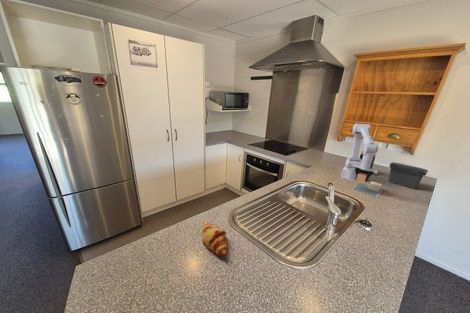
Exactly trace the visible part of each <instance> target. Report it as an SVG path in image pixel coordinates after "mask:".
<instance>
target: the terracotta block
mask: <svg viewBox="0 0 470 313" xmlns="http://www.w3.org/2000/svg"><path fill="white" fill-rule="evenodd" d="M366 177H367V174H364V173H359V174H358V175H357V179H355V181H356V182H358V183H359V182H362V183H365V184H366V183H367V182H366V181H365V180H366Z"/></svg>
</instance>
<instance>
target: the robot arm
mask: <svg viewBox="0 0 470 313" xmlns="http://www.w3.org/2000/svg"><path fill="white" fill-rule="evenodd" d="M370 131H371V124H369V123H368V124H366V123H354V124H353V126H352V132H351V134H352V135H353V140H352V141H353V142H352V147H351V148H352V149H351V155H350V156H348V157H346V161H345V163H344V165H345V166H344V167H343V169H342V171H341V175H340V178H344V179H347V180H349V181H352V182H353V181H356V179H357V175H358V174H359V172H360V170H361V169H362V170H365V171H369V172H368V173H367V177H366V180H365V181H366V182H365V183H367V182H368V180H369V179H370V177H371V176H372V175H373V174H376V175H377V174H378V172H379V170H377V169H374V168H373V167H372V168H370V167H371V164H372V161H373V157H374V154H376V153H378V151H379V145H378V144H376V143H375V141H374V138H373V137H372V136H371V135H370ZM361 142H363V154H364V155H363V158H362V160H361V159H360V155H359V154H360V148H361Z"/></svg>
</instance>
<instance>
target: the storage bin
mask: <svg viewBox="0 0 470 313" xmlns="http://www.w3.org/2000/svg"><path fill="white" fill-rule="evenodd" d="M389 168H390V171H389V175H388V182H389V183H391V184H392V183H393V184H396V185H400V186H403V187H406V188H411V189H415V190H417V189H418V187H419V185H420V183H421V181H422V180H423V177H426V176H427V173H429V170H428V169H426V168H422V167H417V166H414V165H413V166H412V165H409V164H404V163H399V162H394V161H393V162H392V161H391V162H390V164H389Z"/></svg>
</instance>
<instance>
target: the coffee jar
mask: <svg viewBox="0 0 470 313" xmlns="http://www.w3.org/2000/svg"><path fill="white" fill-rule="evenodd" d="M363 155H364V154H363V151H361V152H360V155H359V158H360V159H361V160H362V158H363ZM376 156H377V154H376V153H375V154H374V157H373V161H372V164H371V167H370V168H372V169H373V166H374V162H375V159H376ZM368 172H369V171H365V170H362V169H361V170H360V172H359V173H364V174H367V173H368Z"/></svg>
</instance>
